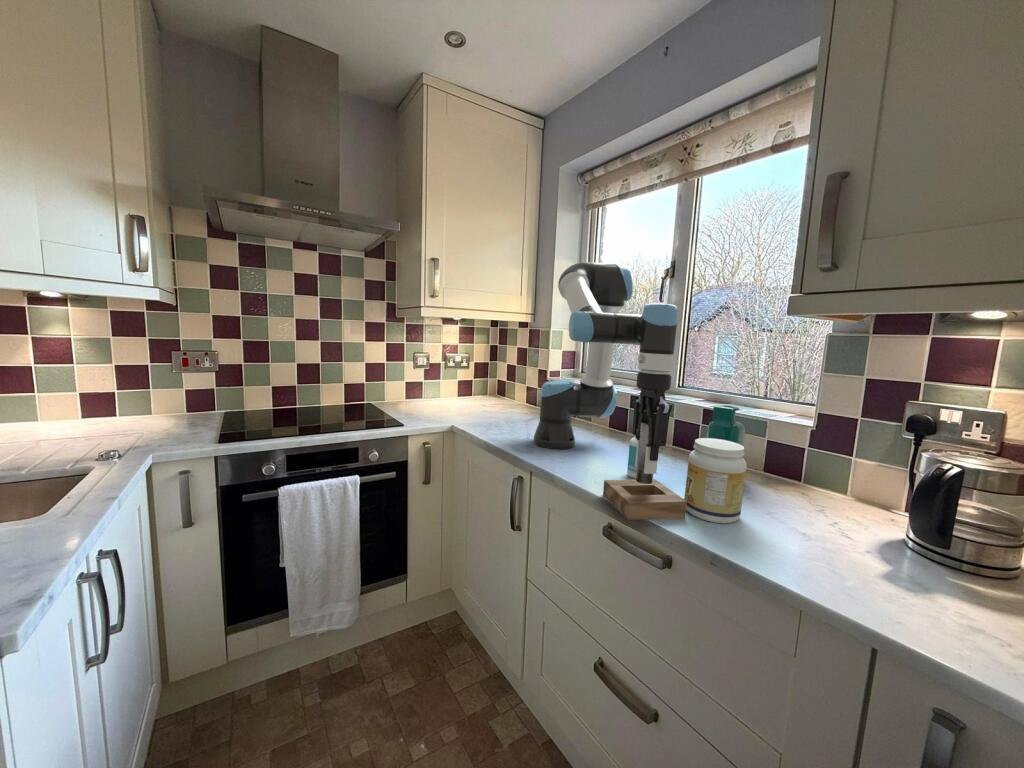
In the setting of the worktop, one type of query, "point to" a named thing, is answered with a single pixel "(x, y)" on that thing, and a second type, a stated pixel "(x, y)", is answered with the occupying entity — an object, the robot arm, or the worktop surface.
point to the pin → (643, 455)
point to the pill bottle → (632, 458)
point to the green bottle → (726, 425)
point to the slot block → (644, 500)
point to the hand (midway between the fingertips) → (645, 469)
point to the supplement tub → (715, 480)
